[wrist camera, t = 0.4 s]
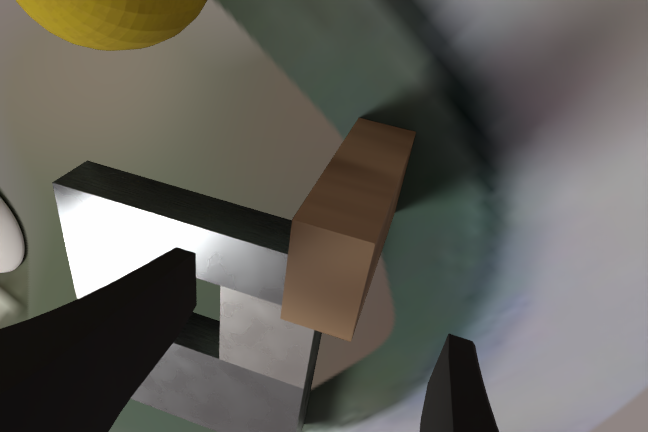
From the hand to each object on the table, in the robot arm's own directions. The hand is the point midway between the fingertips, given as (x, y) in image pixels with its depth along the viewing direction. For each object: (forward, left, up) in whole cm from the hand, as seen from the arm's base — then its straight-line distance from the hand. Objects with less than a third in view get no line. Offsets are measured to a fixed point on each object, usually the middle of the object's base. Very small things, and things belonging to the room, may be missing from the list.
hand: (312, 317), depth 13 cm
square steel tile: (-12, +8, -9) cm, 17 cm away
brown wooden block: (0, 0, -9) cm, 9 cm away
